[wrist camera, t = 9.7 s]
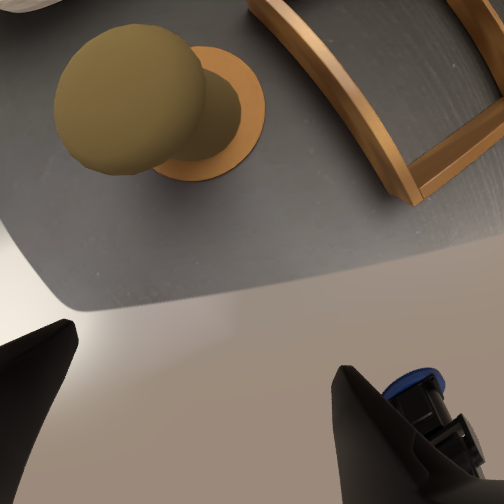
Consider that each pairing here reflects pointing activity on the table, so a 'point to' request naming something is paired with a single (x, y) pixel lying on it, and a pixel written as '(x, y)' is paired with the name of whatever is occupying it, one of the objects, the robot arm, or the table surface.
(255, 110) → the coaster
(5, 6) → the plate stack
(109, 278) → the table surface
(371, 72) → the table surface
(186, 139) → the pepper shaker
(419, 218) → the table surface
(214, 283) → the table surface
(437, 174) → the wooden frame
